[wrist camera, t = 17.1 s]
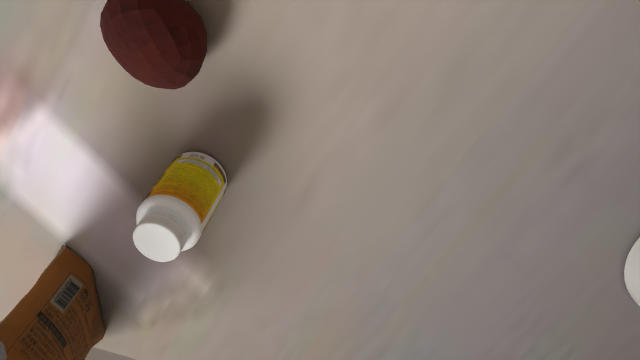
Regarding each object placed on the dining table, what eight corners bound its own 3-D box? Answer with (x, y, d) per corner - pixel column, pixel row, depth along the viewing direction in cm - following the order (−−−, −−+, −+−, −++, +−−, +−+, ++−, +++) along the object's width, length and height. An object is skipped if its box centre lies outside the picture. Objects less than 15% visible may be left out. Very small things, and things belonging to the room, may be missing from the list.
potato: (189, -42, 43) (157, -22, 38) (233, 60, 47) (209, 89, 42) (109, -12, 46) (69, 10, 41) (157, 83, 49) (126, 113, 44)
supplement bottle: (173, 142, 52) (122, 206, 44) (232, 158, 52) (193, 225, 44) (169, 190, 56) (121, 259, 47) (225, 206, 55) (187, 277, 47)
